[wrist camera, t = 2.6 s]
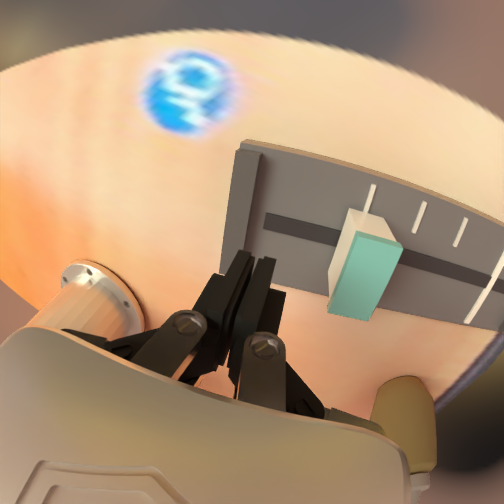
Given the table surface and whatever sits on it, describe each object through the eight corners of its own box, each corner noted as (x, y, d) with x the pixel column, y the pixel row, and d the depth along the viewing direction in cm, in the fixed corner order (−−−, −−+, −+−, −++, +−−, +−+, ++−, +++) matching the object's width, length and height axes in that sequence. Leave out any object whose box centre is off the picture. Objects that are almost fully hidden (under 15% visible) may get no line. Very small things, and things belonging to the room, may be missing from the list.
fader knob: (360, 280, 20) (368, 321, 16) (326, 272, 20) (327, 312, 16) (385, 217, 17) (403, 248, 14) (348, 206, 18) (358, 236, 14)
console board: (497, 320, 22) (507, 338, 19) (228, 257, 24) (218, 277, 22) (540, 242, 17) (555, 257, 14) (247, 139, 19) (236, 144, 17)
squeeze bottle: (398, 409, 31) (403, 525, 16) (355, 397, 31) (350, 530, 15) (440, 377, 27) (462, 506, 12) (399, 361, 27) (414, 516, 11)
